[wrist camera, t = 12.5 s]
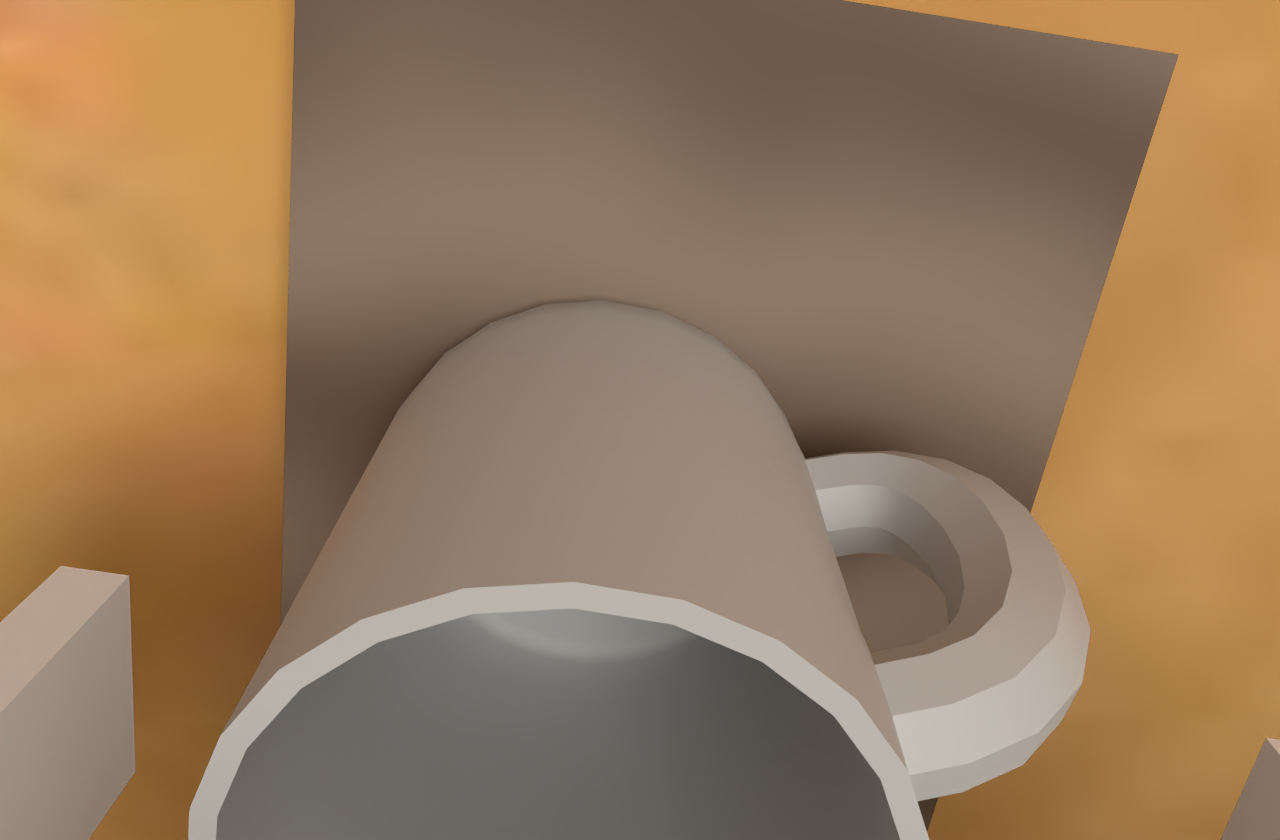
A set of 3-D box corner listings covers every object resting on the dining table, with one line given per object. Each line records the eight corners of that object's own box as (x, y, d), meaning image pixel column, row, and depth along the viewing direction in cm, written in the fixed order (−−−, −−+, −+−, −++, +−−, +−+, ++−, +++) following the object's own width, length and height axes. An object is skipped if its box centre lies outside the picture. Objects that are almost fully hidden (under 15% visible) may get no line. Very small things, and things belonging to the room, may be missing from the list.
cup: (331, 336, 18) (61, 659, 9) (943, 215, 17) (1235, 452, 9) (448, 692, 20) (320, 1183, 12) (979, 602, 20) (1226, 1061, 11)
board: (889, 785, 24) (914, 870, 22) (313, 710, 24) (276, 789, 21) (1112, 44, 18) (1178, 54, 16) (344, -80, 18) (297, -88, 15)
